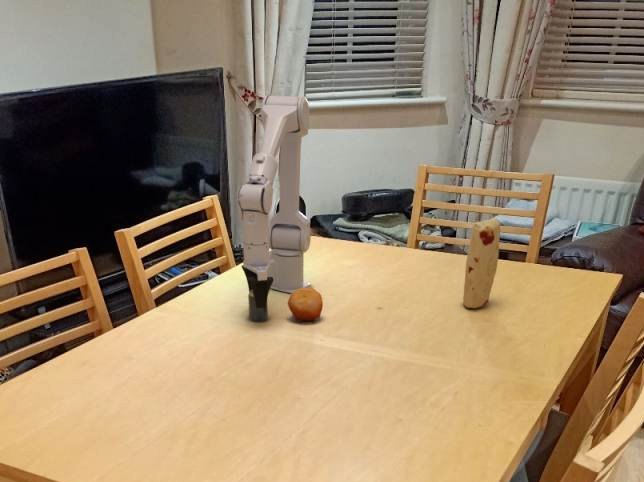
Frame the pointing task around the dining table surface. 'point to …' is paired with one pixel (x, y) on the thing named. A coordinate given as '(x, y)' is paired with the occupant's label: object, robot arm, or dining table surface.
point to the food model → (481, 262)
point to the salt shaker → (256, 310)
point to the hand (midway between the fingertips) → (258, 301)
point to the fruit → (305, 304)
